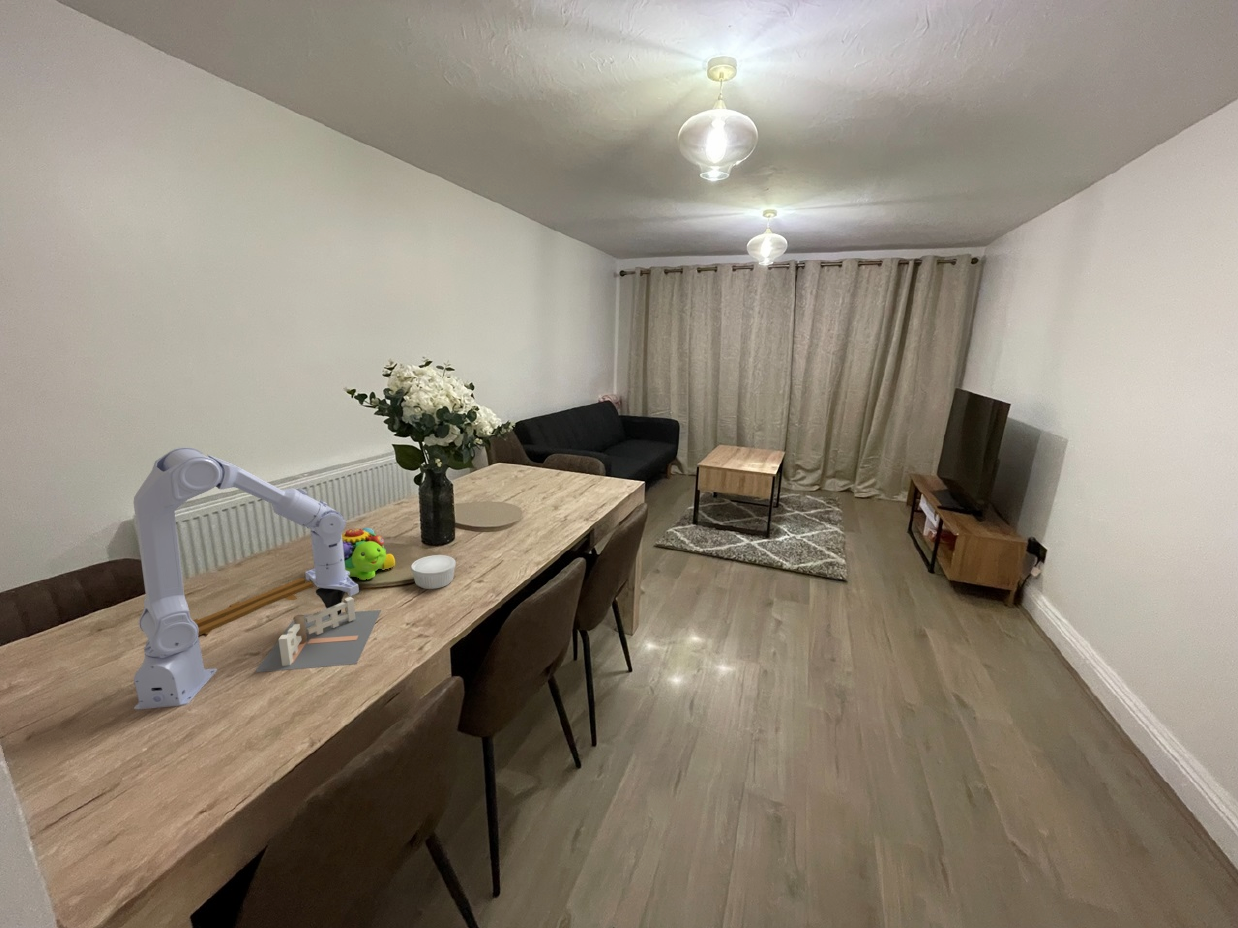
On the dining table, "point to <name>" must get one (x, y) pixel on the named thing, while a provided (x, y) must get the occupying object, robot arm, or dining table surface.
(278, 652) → the card
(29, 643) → the dining table surface
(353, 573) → the turtle toy
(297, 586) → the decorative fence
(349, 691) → the dining table surface
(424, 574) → the ramekin
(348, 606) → the fence gate
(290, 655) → the fence fixed
